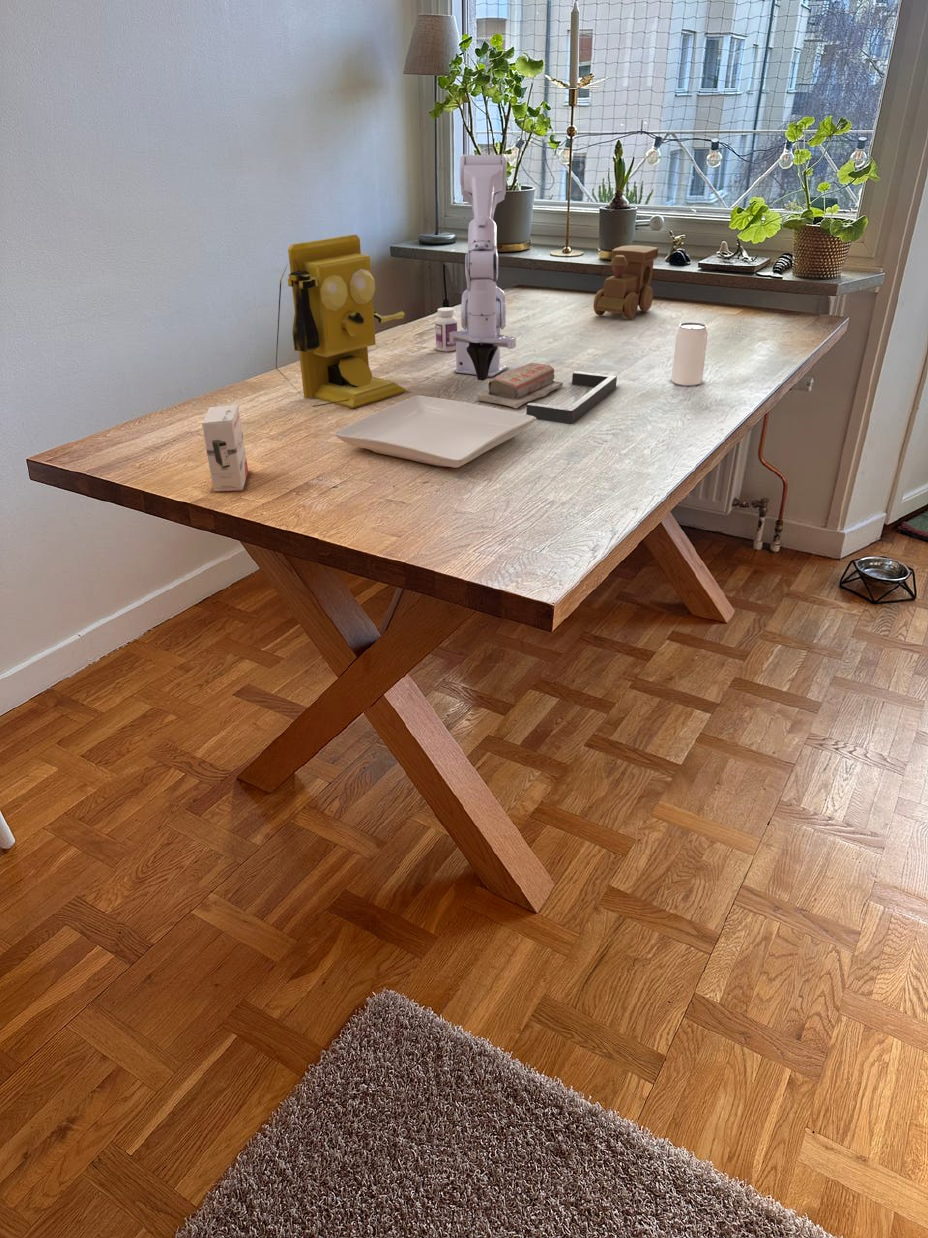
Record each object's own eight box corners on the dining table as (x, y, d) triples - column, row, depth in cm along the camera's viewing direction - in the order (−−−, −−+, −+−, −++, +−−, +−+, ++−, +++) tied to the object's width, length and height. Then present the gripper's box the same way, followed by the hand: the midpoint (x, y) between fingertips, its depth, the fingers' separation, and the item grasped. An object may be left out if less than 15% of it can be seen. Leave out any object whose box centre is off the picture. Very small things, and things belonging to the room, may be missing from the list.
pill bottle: (458, 346, 223) (458, 306, 218) (456, 351, 218) (455, 311, 214) (437, 346, 224) (436, 306, 219) (434, 351, 219) (433, 311, 214)
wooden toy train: (619, 304, 262) (624, 243, 253) (656, 308, 256) (662, 246, 248) (589, 318, 248) (592, 253, 239) (627, 322, 242) (632, 257, 234)
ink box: (220, 472, 152) (209, 404, 146) (249, 471, 153) (239, 403, 146) (212, 492, 145) (200, 421, 139) (242, 491, 145) (232, 420, 139)
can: (703, 379, 195) (710, 322, 189) (700, 387, 190) (707, 329, 184) (673, 376, 197) (679, 320, 191) (669, 385, 192) (675, 327, 186)
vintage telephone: (316, 420, 175) (299, 257, 160) (273, 406, 183) (253, 250, 168) (428, 385, 195) (423, 236, 179) (385, 373, 203) (376, 230, 188)
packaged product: (524, 358, 194) (563, 365, 189) (523, 380, 197) (562, 388, 191) (475, 377, 182) (516, 385, 177) (476, 401, 184) (516, 409, 179)
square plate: (460, 481, 147) (460, 458, 145) (331, 452, 160) (329, 431, 158) (537, 433, 167) (538, 412, 165) (417, 410, 180) (416, 391, 178)
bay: (526, 417, 175) (526, 404, 174) (574, 382, 195) (575, 370, 194) (571, 423, 171) (572, 410, 170) (616, 387, 191) (617, 375, 190)
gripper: (441, 313, 183) (443, 379, 190) (505, 320, 177) (505, 388, 184) (457, 307, 188) (458, 371, 195) (520, 312, 183) (519, 379, 189)
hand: (482, 379), depth 190 cm, fingers closed
